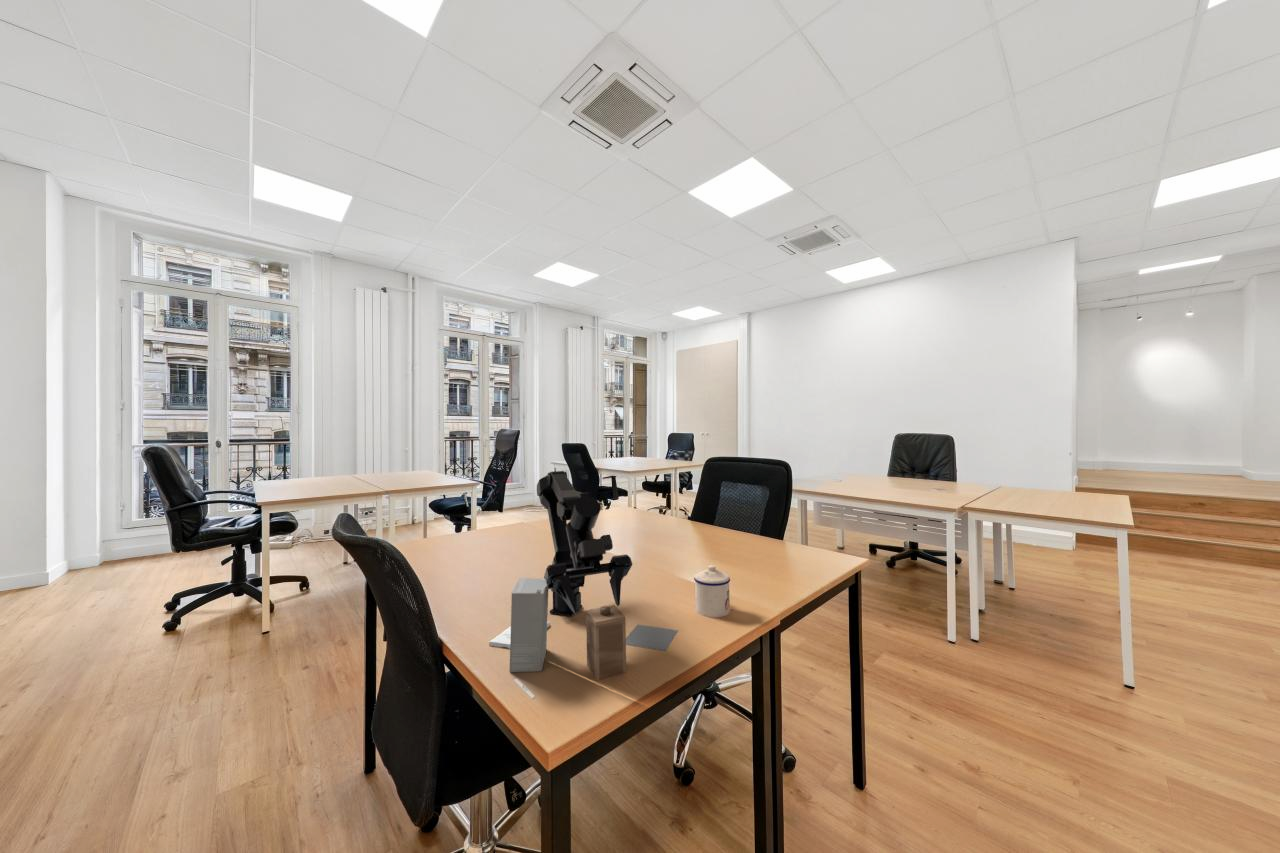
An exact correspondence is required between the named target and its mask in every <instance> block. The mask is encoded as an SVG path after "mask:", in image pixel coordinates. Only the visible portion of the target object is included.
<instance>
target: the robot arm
mask: <svg viewBox="0 0 1280 853" xmlns="http://www.w3.org/2000/svg"><path fill="white" fill-rule="evenodd" d="M536 496H537V497H539V502H540V504H541V506H543V507H544V508H545V509H546V510H547V515H548V520H549V524H550V525H549V526H550V532H551V536H552V537H551V538H552V544H553V549H554V553H555V554H554V556H553V560H552V561H551V564H549V565H547V567H546V569H545V571H544V576H543V579H544V578H545V580H546V581H547V583H548V586H549V587H548V590H550V591H551V593H552V609H550V610H549V614H554V615H559V616H560V615H561V616H568V617H572V616H573V615H577V614H578V611H579V610H581V609H582V608H583V604H582V592H581V591H580V588H583V587H584V586H585V580H586V576H592V575H599V574H605V573H608V576H609V577H610V578H609V584H610V588H611V592H612V596H613V599H614V602H615V606H616V607H619V606H620V604H621V590H622V588H621V586H622V581H623V579H624V578H625V577H626V576H628V573H629V571H630V570H631V569H632V566H633V561H632V559H631V557H630V556H629V555H628V554H620V555H618V554H617V555H612V557H611V558H610V562H606V563H601V561H603V559H604V555H606V554H607V552H609V551H611V550H612V549H613V546H614V545H613V540H612V537H611V534H602V536H600V537H599V538H594V534H593V529H594V528H595V526H596V523H597V520H598V517H599V515H600V513H601V503H600V502H599V501H598V500H597V499H596V498H594V497H593V496H590V493H589V492H581V491H577V490H576V489H575V488H574V486H573V484H572V483H571V481H570V479H568V473H567V471H564V470H555V471H549V472H548V473H547V474H546V475H545V476H544V477H542V478H540V479H539V480H538V481H537V484H536ZM567 521H569V522H567Z"/></svg>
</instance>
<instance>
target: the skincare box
mask: <svg viewBox="0 0 1280 853" xmlns="http://www.w3.org/2000/svg"><path fill="white" fill-rule="evenodd" d="M548 587H549V586H548V583H547V581H546V580H545V578H544V577H543V578H542V577H541V578H536V577H535V578H533V577H532V578H531V577H529V578H528V577H526V578H525V577H524V578H519V579H518V581H517V582H516V584H515V586H514V588H513V590H512V592H511V593H510V594H511V609H510V610H511V611H510V612H511V614H510V626H511V641H510V649H509V655H510V656H509V672H510V673H525V672H526V673H527V672H528V673H529V672H530V673H531V672H541V671H543V667H544V662H545V657H546V652H547V646H548V645H547V640H548V639H547V638H548V637H547V636H548V628H547V621H548V612H549V610H548V609H549V589H548Z"/></svg>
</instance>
